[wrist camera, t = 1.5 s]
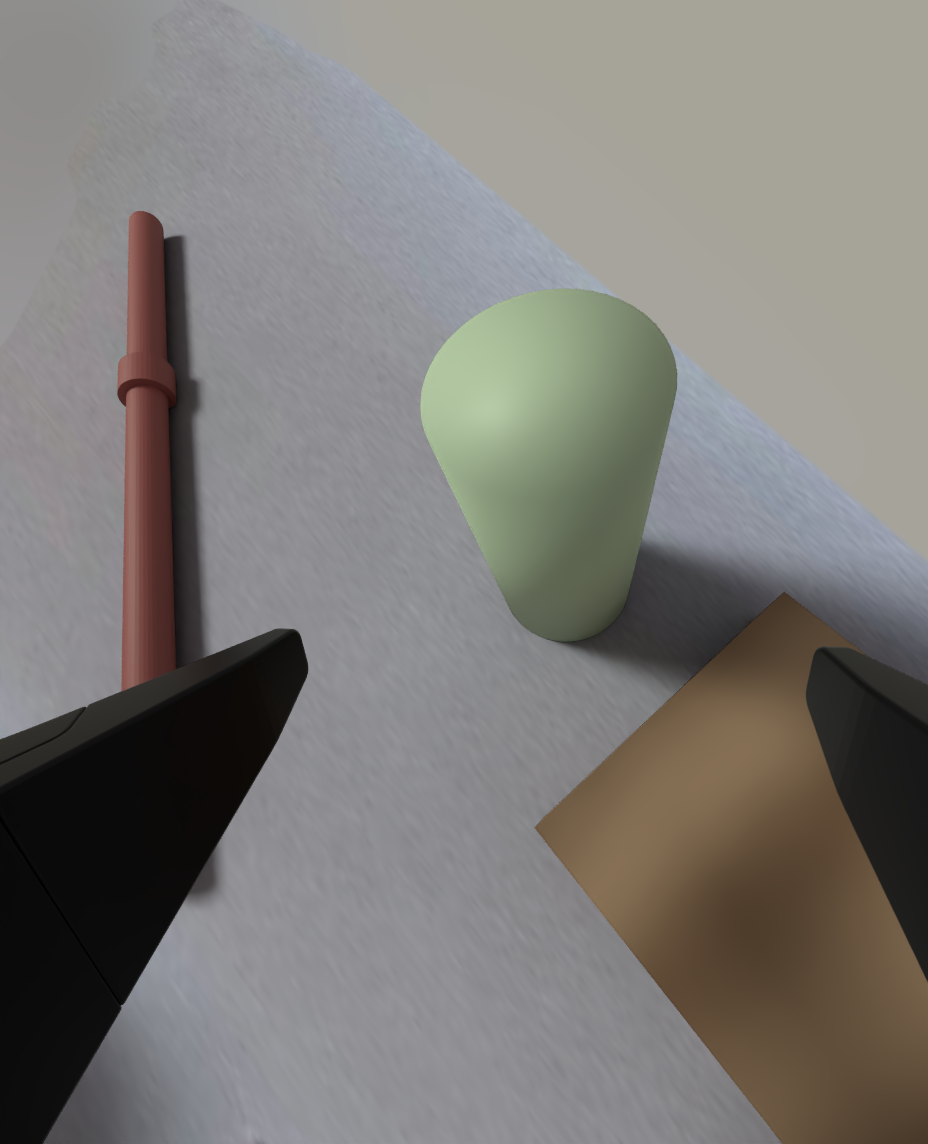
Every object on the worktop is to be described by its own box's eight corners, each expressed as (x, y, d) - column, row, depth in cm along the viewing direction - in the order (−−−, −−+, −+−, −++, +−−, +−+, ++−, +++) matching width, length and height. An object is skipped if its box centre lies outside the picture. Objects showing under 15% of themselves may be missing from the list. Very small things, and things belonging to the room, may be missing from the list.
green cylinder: (657, 581, 22) (738, 368, 10) (563, 668, 22) (534, 549, 10) (566, 503, 24) (547, 255, 13) (479, 580, 24) (375, 398, 12)
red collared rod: (144, 251, 41) (111, 212, 38) (179, 236, 41) (148, 195, 38) (147, 880, 23) (84, 896, 20) (210, 861, 23) (154, 875, 20)
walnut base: (1089, 884, 16) (1194, 907, 13) (822, 1171, 15) (874, 1261, 12) (758, 615, 21) (784, 592, 18) (541, 819, 20) (534, 827, 17)
